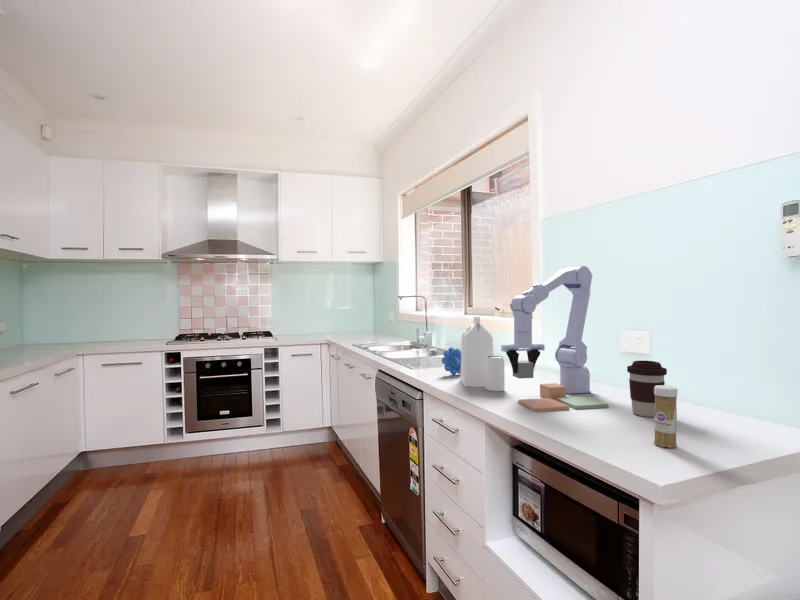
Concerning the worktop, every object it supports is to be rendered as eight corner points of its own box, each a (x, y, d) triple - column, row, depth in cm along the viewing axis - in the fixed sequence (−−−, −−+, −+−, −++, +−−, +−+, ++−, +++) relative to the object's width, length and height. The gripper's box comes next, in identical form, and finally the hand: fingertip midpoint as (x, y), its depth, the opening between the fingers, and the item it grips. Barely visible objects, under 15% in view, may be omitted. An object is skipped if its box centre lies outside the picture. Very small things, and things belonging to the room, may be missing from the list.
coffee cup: (670, 414, 130) (670, 361, 130) (661, 421, 123) (661, 365, 122) (633, 408, 137) (633, 358, 136) (622, 414, 129) (622, 362, 129)
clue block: (556, 394, 155) (556, 383, 155) (565, 398, 149) (565, 386, 149) (540, 395, 154) (539, 384, 154) (549, 399, 148) (549, 387, 148)
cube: (526, 375, 154) (526, 360, 154) (533, 377, 149) (533, 362, 149) (512, 375, 153) (512, 361, 153) (519, 378, 148) (519, 363, 148)
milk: (495, 386, 170) (494, 317, 169) (464, 386, 170) (463, 317, 169) (489, 380, 182) (488, 315, 181) (460, 380, 182) (460, 315, 181)
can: (504, 392, 160) (504, 358, 159) (486, 391, 161) (485, 357, 161) (504, 388, 166) (504, 355, 166) (486, 387, 167) (486, 355, 167)
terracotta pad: (550, 401, 146) (550, 397, 146) (569, 409, 135) (569, 406, 135) (518, 402, 144) (518, 399, 144) (535, 411, 133) (535, 408, 133)
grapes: (446, 377, 187) (446, 348, 187) (439, 375, 194) (439, 347, 193) (471, 375, 192) (471, 347, 192) (462, 373, 198) (462, 345, 198)
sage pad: (586, 398, 149) (586, 395, 149) (608, 407, 138) (608, 403, 138) (555, 400, 147) (555, 397, 147) (575, 409, 136) (575, 405, 136)
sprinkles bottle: (652, 446, 103) (652, 387, 103) (656, 440, 106) (656, 383, 106) (675, 450, 100) (675, 389, 100) (678, 445, 104) (679, 386, 103)
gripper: (537, 330, 156) (537, 369, 156) (497, 331, 153) (497, 371, 154) (547, 332, 149) (547, 373, 149) (506, 332, 146) (506, 374, 147)
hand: (523, 372), depth 151 cm, fingers closed on cube, 5 cm apart
